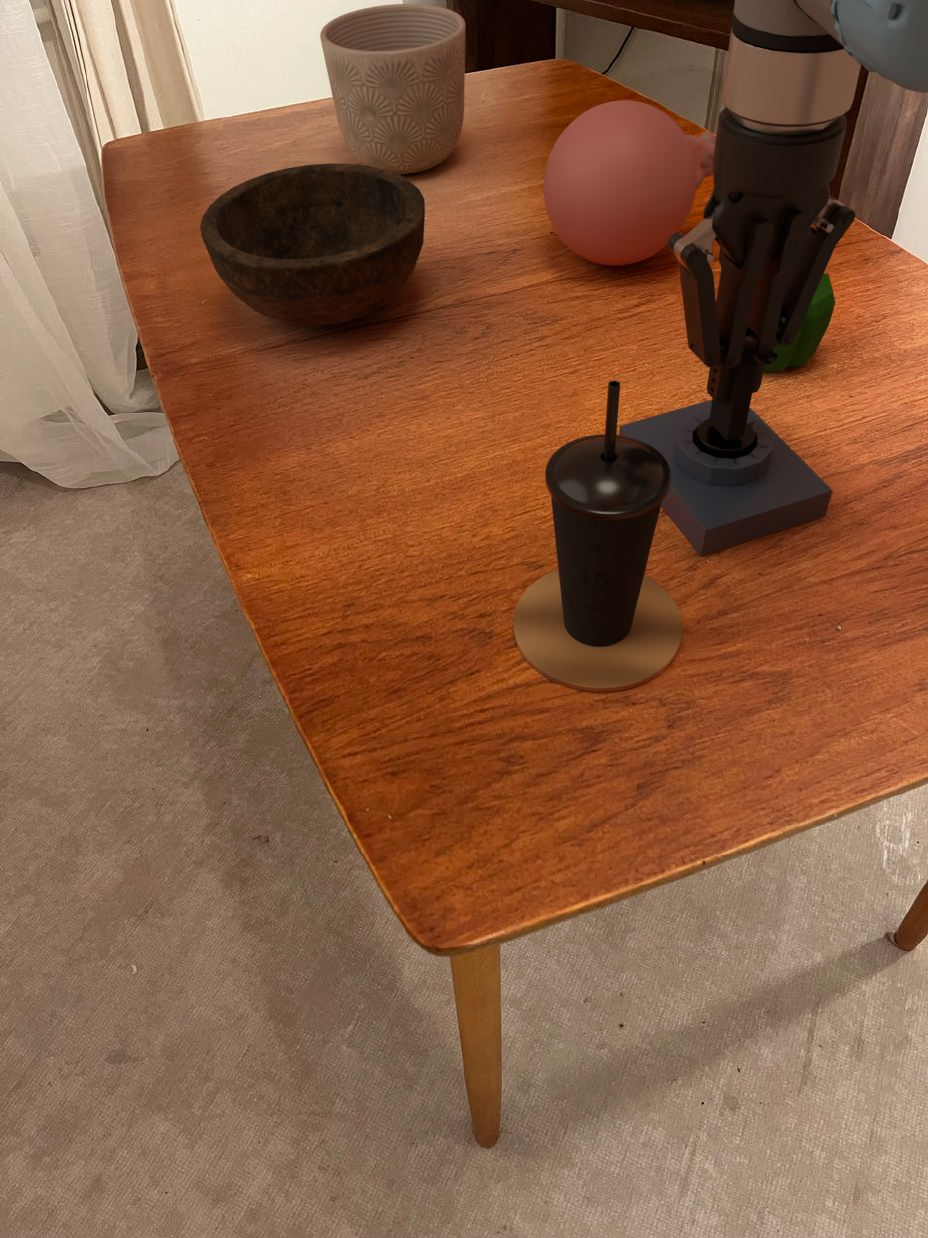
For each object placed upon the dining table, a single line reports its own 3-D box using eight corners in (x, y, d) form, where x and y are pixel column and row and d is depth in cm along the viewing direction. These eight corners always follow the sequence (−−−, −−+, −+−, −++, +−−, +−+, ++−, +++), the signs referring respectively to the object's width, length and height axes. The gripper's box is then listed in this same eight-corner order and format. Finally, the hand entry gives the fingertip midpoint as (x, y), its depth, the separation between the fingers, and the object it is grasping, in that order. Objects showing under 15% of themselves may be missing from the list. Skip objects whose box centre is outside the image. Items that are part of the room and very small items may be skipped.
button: (761, 461, 77) (766, 440, 75) (712, 476, 76) (715, 455, 74) (731, 430, 80) (735, 409, 78) (683, 444, 79) (686, 423, 77)
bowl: (397, 237, 111) (387, 147, 104) (462, 333, 97) (456, 236, 90) (207, 279, 107) (183, 188, 100) (246, 385, 93) (222, 288, 85)
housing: (825, 516, 77) (838, 471, 73) (701, 556, 74) (708, 511, 71) (730, 418, 86) (738, 374, 82) (617, 451, 83) (620, 407, 80)
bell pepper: (820, 388, 88) (847, 285, 81) (726, 379, 90) (744, 278, 82) (820, 337, 93) (845, 236, 86) (731, 330, 95) (748, 230, 88)
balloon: (749, 278, 101) (776, 122, 90) (558, 301, 100) (562, 146, 89) (704, 211, 112) (723, 64, 100) (531, 231, 110) (531, 84, 99)
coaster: (688, 694, 66) (689, 690, 65) (509, 690, 67) (509, 685, 66) (675, 568, 74) (676, 563, 73) (516, 565, 75) (516, 561, 74)
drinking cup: (542, 583, 73) (545, 347, 58) (646, 582, 72) (675, 344, 57) (544, 663, 68) (547, 426, 53) (656, 662, 67) (690, 423, 52)
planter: (326, 146, 129) (306, 16, 118) (449, 124, 132) (441, -5, 121) (355, 199, 118) (337, 61, 107) (489, 174, 121) (484, 37, 110)
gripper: (839, 68, 62) (772, 382, 80) (656, 107, 60) (628, 423, 77) (916, 110, 58) (826, 434, 75) (720, 154, 55) (675, 479, 72)
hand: (726, 428), depth 76 cm, fingers closed
